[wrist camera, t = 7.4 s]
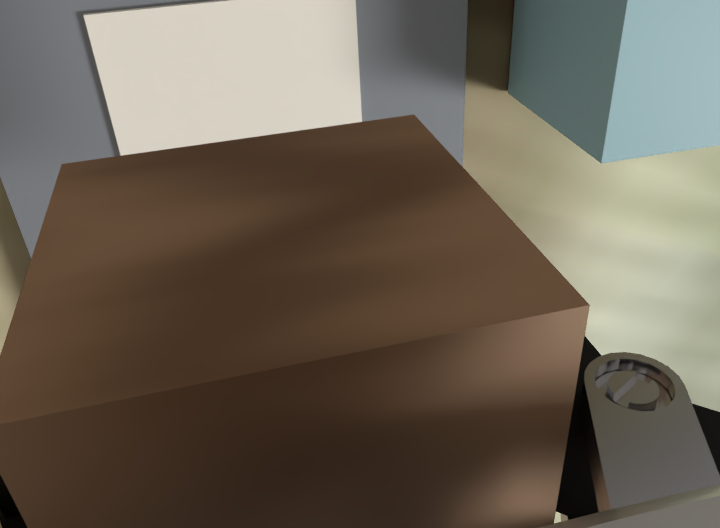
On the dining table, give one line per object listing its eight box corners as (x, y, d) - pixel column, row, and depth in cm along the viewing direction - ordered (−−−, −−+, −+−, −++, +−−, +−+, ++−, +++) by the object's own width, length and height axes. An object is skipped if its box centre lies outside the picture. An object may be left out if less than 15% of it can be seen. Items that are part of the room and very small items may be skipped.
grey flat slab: (460, -189, 18) (477, -190, 17) (449, 276, 26) (460, 293, 25) (-110, -155, 16) (-129, -155, 15) (73, 343, 24) (69, 365, 23)
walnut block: (414, 114, 12) (590, 305, 7) (416, 368, 15) (537, 620, 10) (61, 163, 11) (-24, 429, 6) (144, 425, 14) (135, 737, 9)
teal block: (705, -124, 20) (875, -112, 16) (666, 72, 24) (796, 133, 19) (522, -109, 19) (642, -93, 15) (508, 93, 23) (601, 163, 18)
